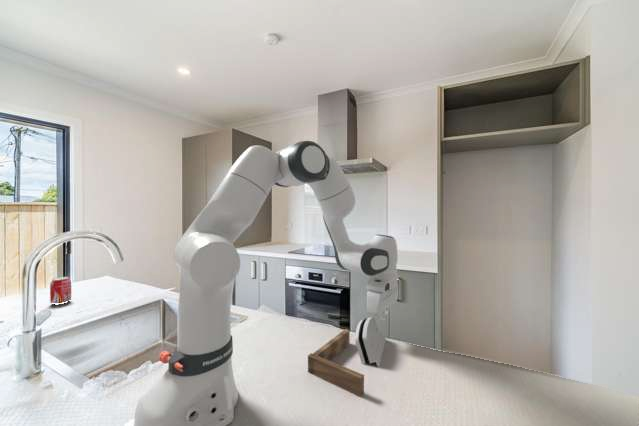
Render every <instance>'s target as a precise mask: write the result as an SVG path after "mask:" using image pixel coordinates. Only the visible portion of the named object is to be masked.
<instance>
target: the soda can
mask: <svg viewBox="0 0 639 426" xmlns="http://www.w3.org/2000/svg"><path fill="white" fill-rule="evenodd" d="M49 299H50V300H49V301H50V302H49V303H50V304H51V303H62V302H66V301H69V300H72V280H71V278H70V277H69V276H61V277H54V278H51V281H50V284H49ZM69 302H70V301H69Z"/></svg>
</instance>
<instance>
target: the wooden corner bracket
mask: <svg viewBox="0 0 639 426" xmlns="http://www.w3.org/2000/svg"><path fill="white" fill-rule="evenodd" d="M350 344H351V341H350V329H347V328H345V329H343V330H342V331H340V333H338V334H337V335H336V336H334V337H332V339H330V340H329V341H328V342H326V343H325V344H324V345H322V346H321V347H320V348H318V349H317V350H315V351H314V352H313V353H310V354H308V355H307V373H309V374H311V375H314V376H315V377H317V378H319V379H322V380H324V381H325V382H328V383H330V384H332V385H334V386H336V387H338V388H340V389H343V390H345V391H347V392H349V393H351V394H353V395H356V396H358V397H360V398H362V397H363V395H364V394H365V375H364V374H362V373H360V372H358V371H356V370H352V369H351V368H348V367H346V366H343V365H341V364H339V363H336V362H334V361H332V360H333V359H334V358H335V357H336V356H337V355H338V354H339V353H341V352H342V351H343V350H344V349H346V348H347V346H349V345H350Z"/></svg>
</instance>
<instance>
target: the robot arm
mask: <svg viewBox="0 0 639 426" xmlns="http://www.w3.org/2000/svg"><path fill="white" fill-rule="evenodd" d="M306 184H307V186H309V187H310V188H311V190H312V191H313V193H314V196H315V198H316V200H317V202H318V204H319V206H320V209H321V211H322V218H323V222H324V225H325V228H326V230H327V233H328V235H329V238H330V240H331V244H332V246H333V250H334V258H335V262H336V264H337V266H338V267H339V268H340V269H342V270H346V271H348V272H354V273H357V274H360V275H364V276H367V277H370V278H369V279H368V281H367V282H366V285H365V289H366V290H367V293H366V308H367V312H368V314H369V315H373V316H376V317H378V316H379V317H380V318H379V319H380V321H383V322H385V321H386V320H388V319H389V312H390V307H391V306H392V305H393V304H394V303H395V302H397V301H398V299H399V284H398V268H397V265H398V264H397V263H398V246H397V240H396V238H395V237H394V236H392V235H387V234H386V235H385V234H374V235H373V237H372V239H371V240H370V241H368V242H367V243H365V244H364V245H363V244H359V243H358V244H357V243H356V242H353V241H352V240H351V239H350V237H349V235H348V233H347V229H346V226H345V223H344V219H345V218H346V217H347V216H348V215H350V214H351V213H352V211H353V210H354V208H355V205H356V198H355V197H356V196H355V193H354V190H353V188H352V186H351V184H350V182H349V179H348V177H347V175H346V174H345V172H344V171H343V169H342V167H341V166H340V164H339V163H338V162H337V160H336V159H335V158H334V157H332V156H328V155H327V153H326V152H325V150H324V149H323V148H322V147H321V146H320V145H319V144H318V143H316V142H315V141H312V140H301V141H298V142H296V143H294V144H291V145H289V146H286V147H283V148H282V149H279V150H278V151H276V152H274V151H272V150H271V149H270V148H268V147H266V146H263V145H260V144H259V145H257V144H256V145H251V146H249V147H248V148H247V149H246V150H245V151H243V153H242V154H240V156H239V157H238V158H237V160H235V162H234V163H233V164H232V166H231V167H230V168H229V170H228V171H227V173H226V174H225V175H224V178H223V179H222V181H221V182H220V184H219V186H217V189H216V190H215V192H214V193H213V195H212V196H211V198H210V199H209V201H208V203H207V204H206V205H205V206H204V208H203V209H202V210H201V211H200V212H199V214H198V215H197V216H196V218H195V219H194V220H193V221H192V223H191V224H190V225H189V227H187V230H185V232H184V233H183V235H182V236H181V237H180V239H179V241H178V242H177V244H176V245H175V247H174V252H173V260H174V264H175V265H176V267H177V268H178V271H179V295H178V296H179V297H178V306H177V311H176V313H177V314H176V319H177V320H176V322H177V323H176V324H177V326H176V327H177V330H176V334H177V339H176V342H177V344H176V347H175V348H174V351H173V353H170V352H169V351H168V350H163V351H161V352H160V353H159V355H158V361H160V362H161V363H162V364H163V365H164V364H165V365H166V364H168V367H167V368H166V369H165V370H164V371H163V372H162V374H161V375H160V376H159V377H158V378H157V379H156V380H155V381H154V382H153V383H152V384H151V385H150V387H148V389H146V391H145V392H144V393H143V394H142V395H141V396H140V397H139V400H138V401H137V403H136V404H137V405H136V407H135V412H134V417H133V418H131V419H130V420H129V421H127V422H126V423H125V424H123V426H227V425H229V424H231V423H232V422H233V421H234V415H235V414H234V412H235V411H234V410H235V407H236V405H237V403H238V400H239V390H238V389H237V385H236V382H235V377H234V372H233V371H234V370H233V361H232V356H233V352H234V349H233V348H234V343H233V335H232V334H231V331H232V330H231V326H232V325H231V323H232V322H231V321H232V320H231V317H232V315H231V314H232V313H231V312H232V311H231V307H232V306H231V305H232V298H233V294H234V293H233V292H234V288H235V283H236V282H235V281H236V277H237V275H238V274H239V272H240V268H241V257H240V254H239V253H238V250H237V248H236V247H235V246H234V243H235V242H236V241H237V239H238V238H239V237H240V236H241V235H242V234H243V232H244V231H246V229H247V228H249V227H250V226H251V225H252V224H253V222H254V221H255V219H256V217H257V216H258V213H259V212H260V210H261V209H262V206H263V205H264V203H265V201H266V199H267V198H268V196H269V194H270V192H271V190H272V188H274V186H278V187H282V188H289V187H298V186H302V185H303V186H304V185H306Z"/></svg>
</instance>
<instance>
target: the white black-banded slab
mask: <svg viewBox="0 0 639 426" xmlns="http://www.w3.org/2000/svg"><path fill="white" fill-rule="evenodd" d="M354 340H355V341H354V342H355V345H356V346H355V347H356V348H357V352H358V356H359V359H360V363H361V364H362V365H366V363H369V364H373V363H375V364H376V366H377V367H378V368H380V367H381V362H382V358H383V354H384V350H385V347H386V346H385V345H386V341H387V339H386V337H385V334H384V333H381V332H380V329H379V326H378V324H377V321H376V319H375V317H368V318H367V317H366V318H364V319H361V320H360V321H359V322H358V323H357V326H356V328H355V335H354Z"/></svg>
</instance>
